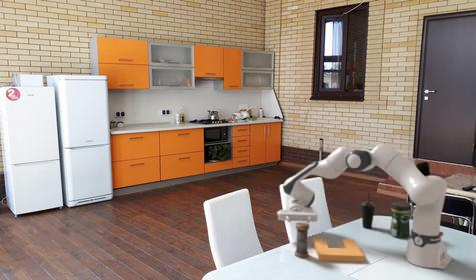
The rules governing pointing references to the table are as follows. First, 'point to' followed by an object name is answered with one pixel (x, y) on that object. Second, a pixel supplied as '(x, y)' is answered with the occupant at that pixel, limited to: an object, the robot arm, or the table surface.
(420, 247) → the robot arm
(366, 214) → the drinking cup
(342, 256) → the orange notched slab
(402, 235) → the coffee jar
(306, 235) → the cord spool
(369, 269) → the table surface
